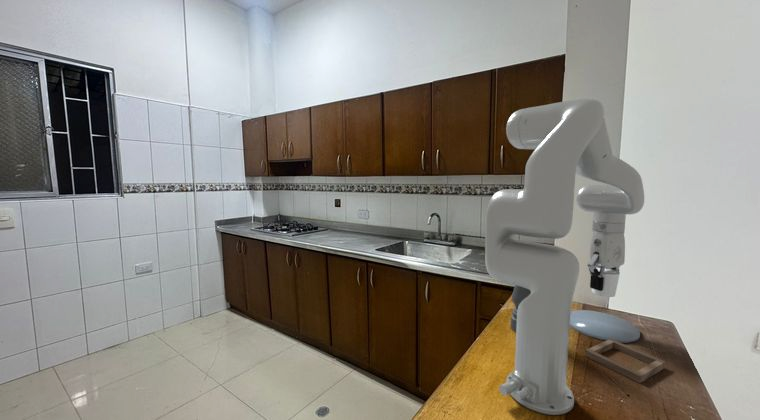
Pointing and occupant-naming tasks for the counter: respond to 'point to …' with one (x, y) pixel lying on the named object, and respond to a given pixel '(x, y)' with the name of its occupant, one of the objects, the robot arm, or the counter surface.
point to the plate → (603, 326)
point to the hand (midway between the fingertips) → (603, 286)
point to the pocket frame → (637, 376)
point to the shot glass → (608, 283)
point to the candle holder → (517, 298)
